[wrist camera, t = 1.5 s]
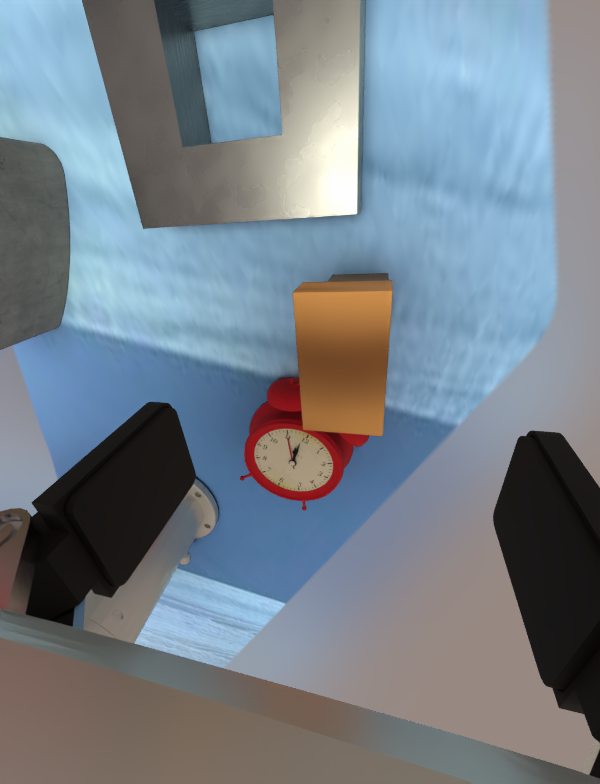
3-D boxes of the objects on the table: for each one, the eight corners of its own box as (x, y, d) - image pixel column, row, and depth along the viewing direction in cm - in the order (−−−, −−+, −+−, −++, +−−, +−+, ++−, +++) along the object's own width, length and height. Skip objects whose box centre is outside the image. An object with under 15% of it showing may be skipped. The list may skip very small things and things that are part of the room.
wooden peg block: (383, 345, 26) (382, 436, 16) (333, 344, 27) (303, 429, 17) (389, 250, 23) (392, 290, 13) (332, 253, 24) (292, 292, 14)
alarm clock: (223, 480, 33) (256, 385, 23) (248, 434, 38) (286, 336, 27) (316, 524, 34) (392, 450, 23) (330, 473, 38) (399, 391, 27)
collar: (361, 211, 22) (356, 214, 19) (175, 224, 25) (143, 228, 22) (368, -132, 15) (363, -226, 12) (112, -56, 18) (51, -113, 15)
